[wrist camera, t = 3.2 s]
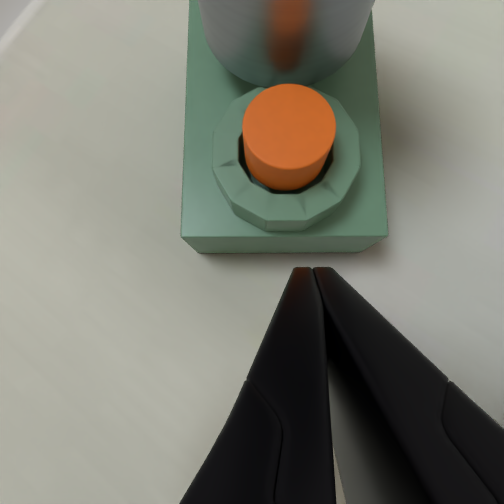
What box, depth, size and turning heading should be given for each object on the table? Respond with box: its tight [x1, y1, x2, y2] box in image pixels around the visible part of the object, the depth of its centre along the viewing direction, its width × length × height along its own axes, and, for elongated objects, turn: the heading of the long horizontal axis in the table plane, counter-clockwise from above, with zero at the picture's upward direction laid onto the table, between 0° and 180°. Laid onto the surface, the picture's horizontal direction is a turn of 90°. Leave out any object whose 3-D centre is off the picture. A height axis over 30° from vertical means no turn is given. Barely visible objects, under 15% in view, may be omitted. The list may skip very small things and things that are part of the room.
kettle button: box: [242, 84, 336, 191], centre depth 14 cm, size 4×4×2 cm
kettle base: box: [181, 0, 388, 253], centre depth 18 cm, size 14×10×6 cm
